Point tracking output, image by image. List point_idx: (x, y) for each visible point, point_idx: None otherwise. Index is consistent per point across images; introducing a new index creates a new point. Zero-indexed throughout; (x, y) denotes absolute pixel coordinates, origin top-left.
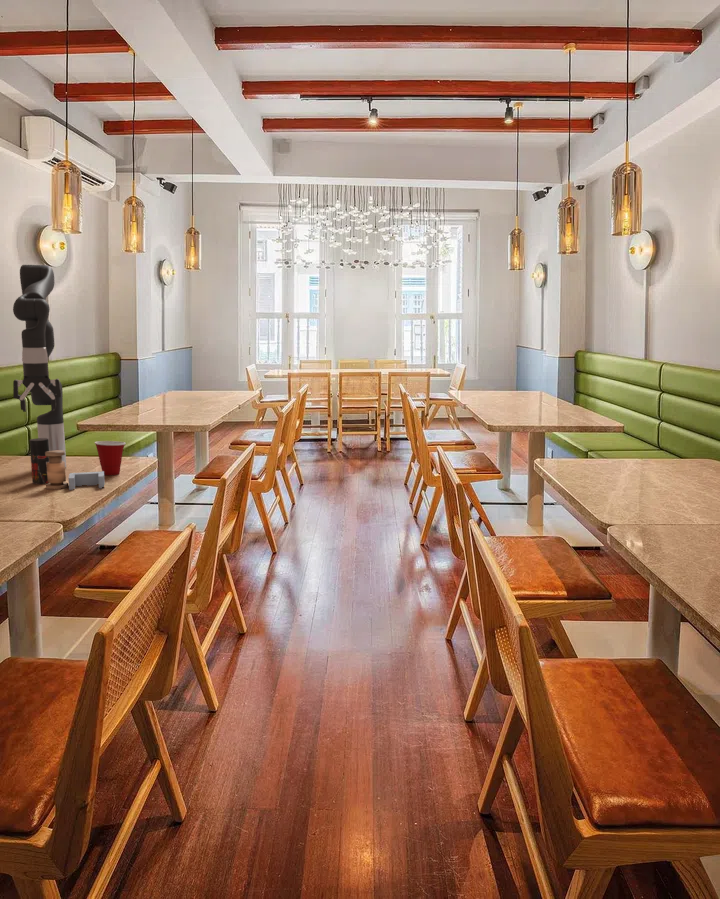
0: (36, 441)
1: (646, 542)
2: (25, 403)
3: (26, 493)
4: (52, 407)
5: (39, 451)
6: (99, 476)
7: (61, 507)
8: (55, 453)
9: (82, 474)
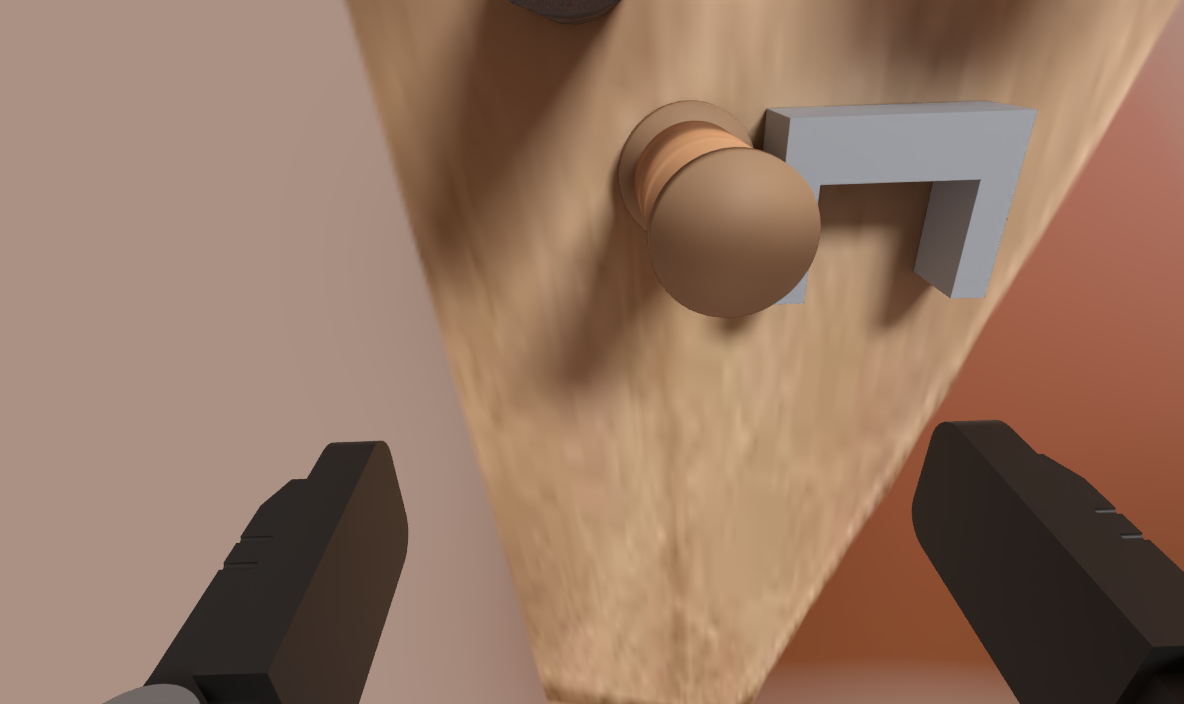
0: (544, 12)
1: None
2: (324, 588)
3: (528, 300)
4: (970, 582)
5: (574, 18)
6: (957, 297)
7: (708, 586)
8: (737, 315)
9: (870, 182)
